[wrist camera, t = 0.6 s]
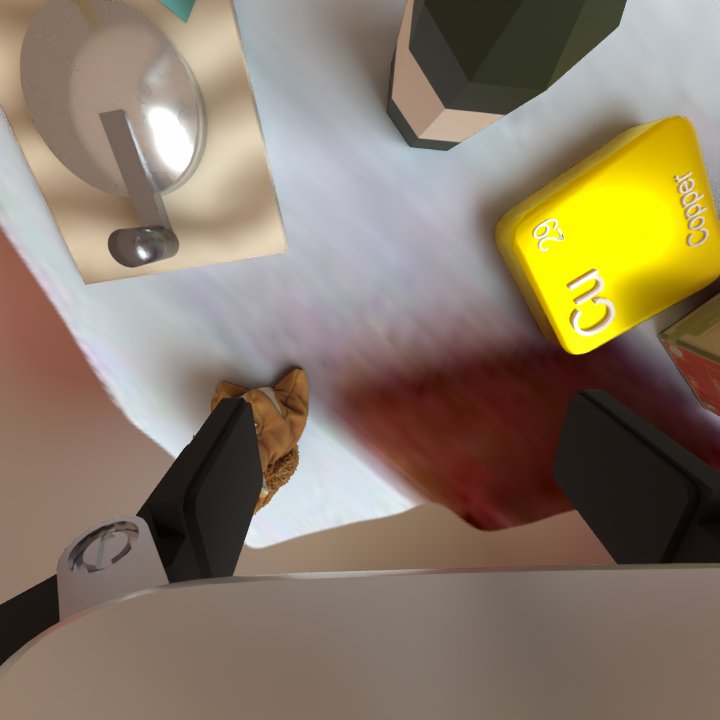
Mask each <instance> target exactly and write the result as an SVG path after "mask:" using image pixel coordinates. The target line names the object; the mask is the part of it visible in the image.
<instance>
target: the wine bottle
mask: <svg viewBox="0 0 720 720" xmlns="http://www.w3.org/2000/svg"><path fill="white" fill-rule="evenodd" d="M626 1H627V0H408V1H407V5H406V9H405V13H404V17H403V20H402V24H401V28H400V32H399V36H398V40H397V44H396V48H395V52H394V56H393V59H392V63H391V73H390V84H389V94H388V105H387V114H388V115H389V117H390V118H391V120H392V121H393V123H394V124H395V125H396V127H397V128H398V130H399V131H400V133H401V134H402V136H403V137H404V139H405V140H406V142H407V143H408V145H409V146H410V147H414V148H424V149H434V150H444V151H448V150H449V149H451V148H453V147H454V146H456V145H458V144H459V143H461V142H462V141H464V140H466V139H467V138H469V137H471V136H472V135H474V134H476V133H477V132H479V131H480V130H482V129H484V128H485V127H487V126H489V125H490V124H492V123H493V122H495V121H497V120H498V119H500V118H502V117H503V116H505V115H507V114H508V113H510V112H511V111H513V110H515V109H516V108H518V107H520V106H521V105H523V104H525V103H526V102H528V101H529V100H531V99H533V98H534V97H536V96H538V95H539V94H541V93H543V92H544V91H546V90H547V89H548V88H549V87H550V86H551V85H553V84H554V83H555V82H556V81H557V80H558V79H559V78H560V77H562V76H563V75H564V74H565V73H566V72H567V71H568V70H570V69H571V68H572V67H573V66H574V65H575V64H576V63H578V62H579V61H580V60H581V59H582V58H583V57H584V56H585V55H587V54H588V53H589V52H590V51H591V50H592V49H593V48H595V47H596V46H597V45H598V44H599V43H600V42H601V41H603V40H604V39H605V38H606V37H607V36H608V35H609V34H610V33H612V32H613V31H614V30H615V29H616V28H617V27H618V26H619V24H620V21H621V17H622V14H623V11H624V8H625V4H626Z"/></svg>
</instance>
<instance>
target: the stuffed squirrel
mask: <svg viewBox="0 0 720 720" xmlns="http://www.w3.org/2000/svg"><path fill="white" fill-rule="evenodd" d="M216 392H217V393H216V394H215V395H214V397H213V398H212V401H211V413H212V412H213V410H214V409H215V407H216V406H217V405H218V403H219V402H220V400H221V399H222V398H236V397H243V398H244V399H245V401H246V402H250V403H251V404H252V409H253V415H254V421H255V428H256V434H257V440H258V447H259V453H260V459H261V466H262V472H263V486H262V490H261V493H260V496H259V499H258V502H257V505H256V508H255V511H254V514H255V515H256V512H257V511H259V510H260V509H261V508H262V507H264V506H265V505H266V504H268V503H269V501H270V500H271V498H272V497H273V495H274V494H275V493H276V492H277V491H278V490H279V487H282V485H285V484H286V482H287V483H288V480H290V476H292V475H293V474H294V471H295V470H297V469H296V467H297V465H298V464H299V463H298V461H299V455H298V453H299V452H298V445H297V444H296V443H297V442H298V440H299V439H300V437H301V435H302V433H303V430H304V428H305V425H306V421H307V416H308V399H309V387H308V380H307V376H306V372H305V371H304V370H303V369H294V370H293V371H292V372H290V373H289V374H288V375H287V376H286V377H285V378H283V379H282V380H281V381H280V382H279V383H278V384H277V385H276V386H275V388H271V387H263V388H258V389H253V390H251V391H249V390H247V389H245V388H243V387H240V386H237V385H234V384H230V383H226V382H220V383H219V385H217V386H216ZM194 437H195V435H193V438H194ZM254 514H253V515H254Z"/></svg>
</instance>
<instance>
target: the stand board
mask: <svg viewBox="0 0 720 720" xmlns="http://www.w3.org/2000/svg"><path fill="white" fill-rule="evenodd" d="M50 1H52V0H0V104H1V106H2V108H3V110H4V112H5V115H6V117H7V119H8V121H9V123H10V125H11V127H12V130H13V132H14V134H15V136H16V138H17V140H18V142H19V144H20V147H21V149H22V151H23V153H24V155H25V157H26V159H27V161H28V164H29V166H30V168H31V170H32V172H33V174H34V176H35V178H36V181H37V183H38V185H39V187H40V189H41V191H42V193H43V195H44V198H45V200H46V202H47V204H48V206H49V208H50V210H51V212H52V215H53V217H54V219H55V221H56V223H57V225H58V227H59V229H60V232H61V234H62V236H63V238H64V240H65V242H66V244H67V246H68V249H69V251H70V253H71V255H72V257H73V259H74V261H75V263H76V266H77V268H78V270H79V272H80V274H81V276H82V278H83V281H84V283H85V285H86V284H93V283H99V282H105V281H111V280H117V279H124V278H130V277H136V276H142V275H148V274H154V273H161V272H167V271H173V270H179V269H185V268H191V267H198V266H204V265H210V264H216V263H222V262H228V261H235V260H241V259H247V258H253V257H259V256H265V255H272V254H278V253H284V252H287V251H289V248H288V243H287V239H286V234H285V230H284V226H283V221H282V217H281V212H280V208H279V203H278V199H277V194H276V190H275V186H274V181H273V177H272V172H271V168H270V163H269V159H268V155H267V150H266V146H265V141H264V137H263V132H262V128H261V123H260V119H259V115H258V110H257V106H256V101H255V97H254V92H253V88H252V83H251V79H250V75H249V70H248V66H247V61H246V57H245V52H244V48H243V44H242V39H241V35H240V30H239V26H238V21H237V17H236V12H235V8H234V4H233V0H120V1H122V2H123V3H125V4H127V5H129V6H131V7H132V8H134V9H135V10H137V11H138V12H139V13H141V14H142V15H143V16H145V17H146V18H147V19H148V20H149V21H150V22H151V23H152V24H153V25H155V26H156V27H157V28H158V29H159V30H160V31H161V32H162V33H163V34H164V35H166V36H167V37H168V38H169V39H170V40H171V41H172V42H173V44H174V45H175V46H176V47H177V48H178V49H179V51H180V52H181V53H182V55H183V56H184V58H185V59H186V60H187V62H188V64H189V65H190V67H191V69H192V71H193V72H194V75H195V77H196V79H197V81H198V84H199V86H200V89H201V92H202V95H203V99H204V103H205V108H206V115H207V140H206V146H205V150H204V154H203V157H202V160H201V162H200V165H199V166H198V168H197V170H196V171H195V173H194V174H193V176H192V177H191V178H190V179H189V180H188V181H187V182H186V183H185V184H184V185H183V186H182V187H180V188H178V189H177V190H175V191H173V192H171V193H169V194H167V195H163V196H161V197H162V200H163V203H164V206H165V209H166V212H167V215H168V217H169V220H170V223H171V226H172V229H173V232H174V233H175V235H176V236H177V238H178V241H179V250H178V252H177V254H176V255H175V256H173V257H171V258H168V259H164V260H161V261H157V262H153V263H150V264H146V265H142V266H139V267H135V268H129V267H125V266H123V265H121V264H119V263H118V262H117V261H116V260H115V259H114V258H113V257H112V256H111V254H110V252H109V249H108V238H109V236H110V234H111V233H112V232H113V231H115V230H118V229H126V228H137V227H141V225H140V222H139V219H138V217H137V214H136V212H135V209H134V206H133V204H132V201H131V198H130V197H124V196H119V195H113V194H110V193H107V192H104V191H102V190H99V189H97V188H95V187H93V186H91V185H89V184H88V183H86V182H84V181H83V180H81V179H80V178H79V177H77V176H76V175H74V174H73V173H72V172H71V171H70V170H69V169H67V168H66V167H65V166H64V165H63V164H62V163H61V162H60V161H59V160H58V159H57V158H56V156H55V155H54V154H53V153H52V152H51V150H50V149H49V148H48V146H47V145H46V144H45V142H44V141H43V139H42V137H41V136H40V134H39V133H38V131H37V129H36V127H35V125H34V123H33V121H32V119H31V116H30V114H29V111H28V109H27V106H26V102H25V99H24V95H23V91H22V85H21V79H20V53H21V48H22V43H23V39H24V36H25V33H26V31H27V28H28V26H29V24H30V23H31V21H32V19H33V18H34V16H35V15H36V14H37V13H38V12H39V10H40V9H41V8H43V7H44V6H45V5H46V4H47V3H49V2H50Z"/></svg>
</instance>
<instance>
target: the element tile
mask: <svg viewBox="0 0 720 720" xmlns="http://www.w3.org/2000/svg"><path fill="white" fill-rule="evenodd" d="M495 242H496V245H497V247H498V249H499V251H500V253H501V255H502V257H503V259H504V261H505V263H506V265H507V267H508V269H509V270H510V272H511V274H512V276H513V278H514V280H515V282H516V284H517V286H518V288H519V290H520V292H521V294H522V295H523V297H524V299H525V301H526V303H527V305H528V307H529V309H530V311H531V313H532V315H533V317H534V319H535V320H536V322H537V324H538V326H539V328H540V330H541V332H542V333H543V335H544V336H545V337H546V338H547V339H549V340H550V341H552V342H553V343H555V344H556V345H558V346H559V347H560V348H562V349H563V350H565V351H566V352H568V353H569V354H575V355H579V354H584V353H588V352H590V351H592V350H594V349H596V348H597V347H599V346H601V345H603V344H604V343H606V342H608V341H610V340H612V339H613V338H615V337H617V336H619V335H621V334H622V333H624V332H626V331H628V330H630V329H631V328H633V327H635V326H637V325H638V324H640V323H642V322H644V321H646V320H647V319H649V318H651V317H653V316H655V315H656V314H658V313H660V312H662V311H664V310H665V309H667V308H669V307H671V306H672V305H674V304H676V303H678V302H680V301H681V300H683V299H685V298H687V297H689V296H690V295H692V294H694V293H696V292H698V291H699V290H701V289H703V288H705V287H706V286H708V285H709V284H711V283H712V282H714V281H715V280H716V279H717V278H718V277H719V276H720V222H719V218H718V214H717V210H716V207H715V203H714V199H713V195H712V191H711V187H710V184H709V180H708V176H707V172H706V168H705V164H704V161H703V157H702V153H701V149H700V145H699V141H698V138H697V134H696V130H695V128H694V126H693V124H692V123H691V122H690V121H689V120H688V119H687V118H686V117H682V116H677V115H676V116H671V117H667V118H663V119H660V120H656V121H653V122H649V123H646V124H642V125H639V126H635V127H632V128H630V129H628V130H626V131H624V132H622V133H621V134H619V135H618V136H616V137H615V138H613V139H612V140H610V141H609V142H608V143H606V144H605V145H603V146H602V147H600V148H599V149H597V150H596V151H594V152H593V153H592V154H590V155H589V156H587V157H586V158H584V159H583V160H581V161H580V162H579V163H577V164H576V165H574V166H573V167H571V168H570V169H568V170H567V171H565V172H564V173H563V174H561V175H560V176H558V177H557V178H555V179H554V180H552V181H551V182H549V183H548V184H547V185H545V186H544V187H542V188H541V189H539V190H538V191H536V192H535V193H534V194H532V195H531V196H529V197H528V198H526V199H525V200H523V201H522V202H520V203H519V204H518V205H516V206H515V207H513V208H512V209H510V210H509V211H507V212H506V213H505V214H504V215H503V216H502V217H501V219H500V220H499V222H498V223H497V225H496V228H495Z"/></svg>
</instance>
